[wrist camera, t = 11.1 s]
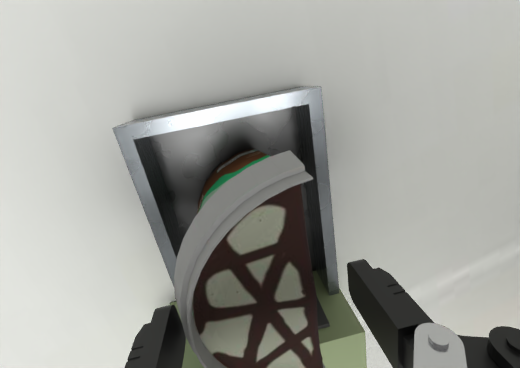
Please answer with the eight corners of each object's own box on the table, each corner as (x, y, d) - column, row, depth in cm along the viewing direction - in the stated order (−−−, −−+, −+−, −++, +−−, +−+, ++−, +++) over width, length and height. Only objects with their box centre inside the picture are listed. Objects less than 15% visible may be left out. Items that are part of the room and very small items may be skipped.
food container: (157, 146, 17) (117, 210, 8) (249, 126, 18) (311, 162, 9) (204, 292, 21) (214, 443, 12) (275, 270, 22) (334, 393, 13)
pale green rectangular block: (324, 261, 23) (364, 328, 17) (330, 316, 26) (367, 393, 19) (169, 300, 22) (148, 387, 16) (190, 353, 25) (180, 447, 18)
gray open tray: (302, 86, 18) (321, 86, 15) (322, 264, 23) (339, 293, 20) (132, 120, 17) (112, 127, 14) (195, 296, 23) (191, 331, 19)
